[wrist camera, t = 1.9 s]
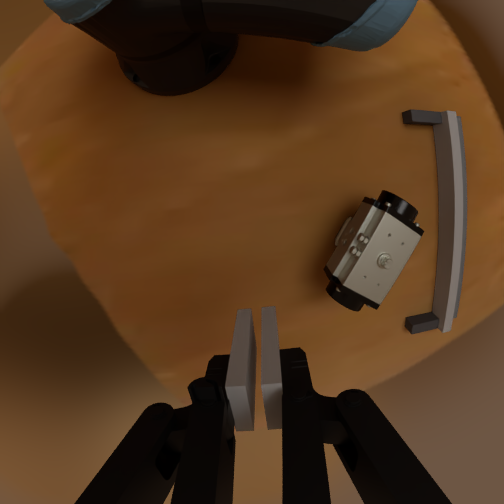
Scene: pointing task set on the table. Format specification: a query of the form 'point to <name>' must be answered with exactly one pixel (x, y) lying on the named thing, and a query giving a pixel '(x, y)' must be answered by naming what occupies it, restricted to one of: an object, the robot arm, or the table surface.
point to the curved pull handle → (445, 218)
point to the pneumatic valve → (372, 251)
